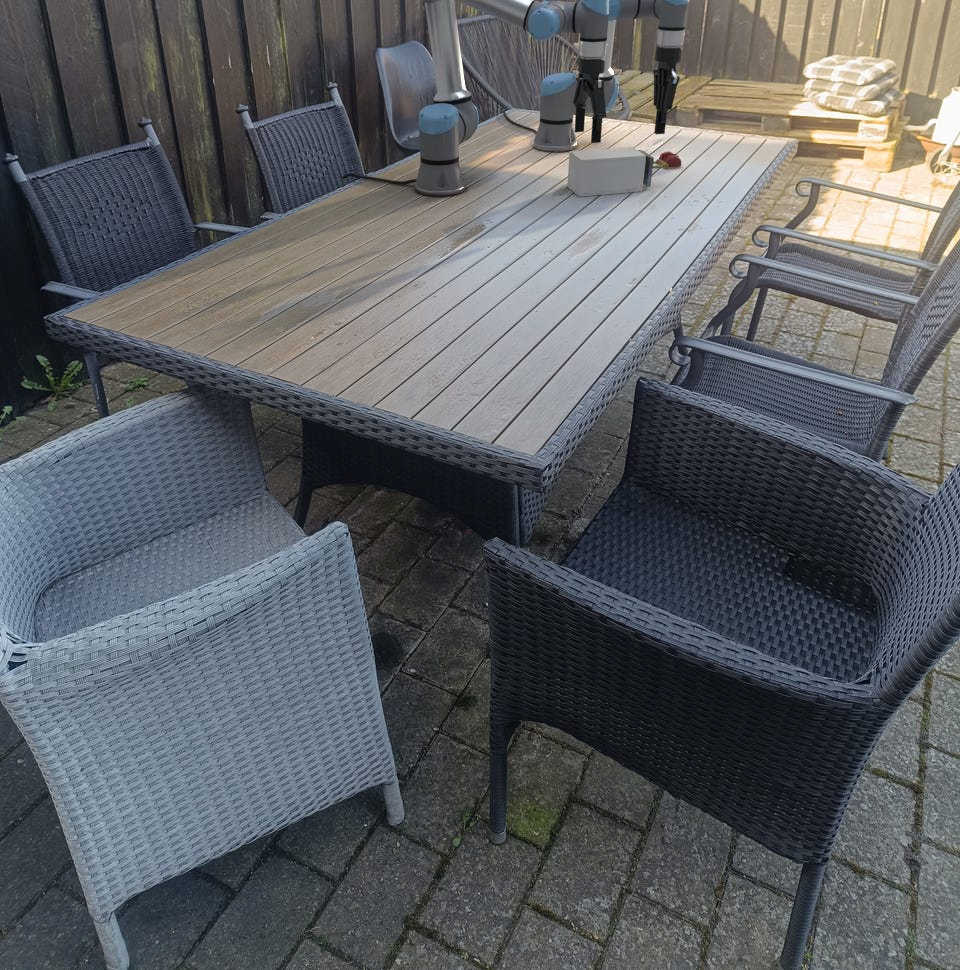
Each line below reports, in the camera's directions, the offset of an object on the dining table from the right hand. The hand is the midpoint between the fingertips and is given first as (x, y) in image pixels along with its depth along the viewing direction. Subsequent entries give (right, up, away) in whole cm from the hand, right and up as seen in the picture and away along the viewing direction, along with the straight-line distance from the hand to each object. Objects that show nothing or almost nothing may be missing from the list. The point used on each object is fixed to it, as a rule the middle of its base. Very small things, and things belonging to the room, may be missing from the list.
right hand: (659, 133), depth 254 cm
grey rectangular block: (-16, -15, +5) cm, 22 cm away
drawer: (-9, -13, +6) cm, 17 cm away
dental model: (+9, 0, +27) cm, 28 cm away
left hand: (-22, -3, -5) cm, 23 cm away
